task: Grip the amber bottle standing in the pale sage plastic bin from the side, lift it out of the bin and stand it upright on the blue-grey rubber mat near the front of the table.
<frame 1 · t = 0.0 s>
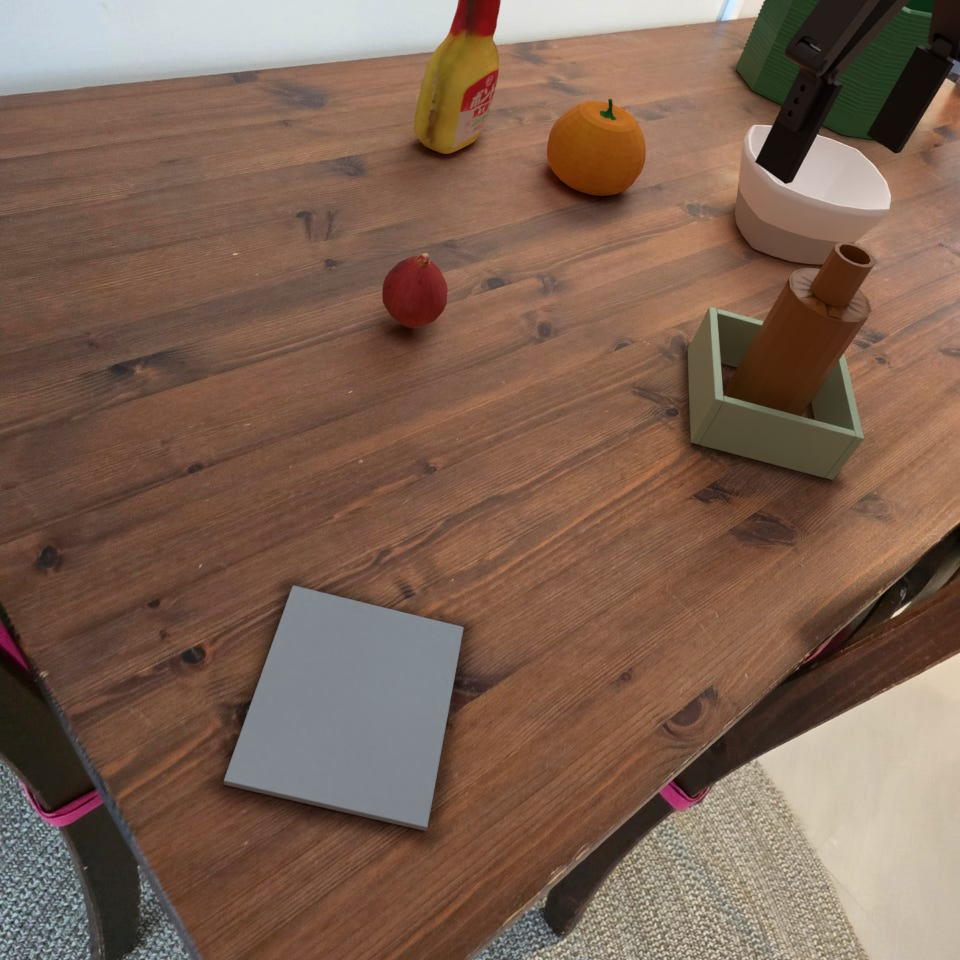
hand: (831, 157, 62), 27 cm above the table, tool pointing down, fingers open, 13 cm apart
onion: (408, 327, 82), on the table
planter: (821, 93, 144), on the table
fruit: (585, 181, 107), on the table
mat: (353, 701, 56), on the table
bottle: (450, 143, 106), on the table
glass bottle: (801, 339, 78), in the bin
bin: (756, 411, 85), on the table
bowl: (780, 236, 109), on the table
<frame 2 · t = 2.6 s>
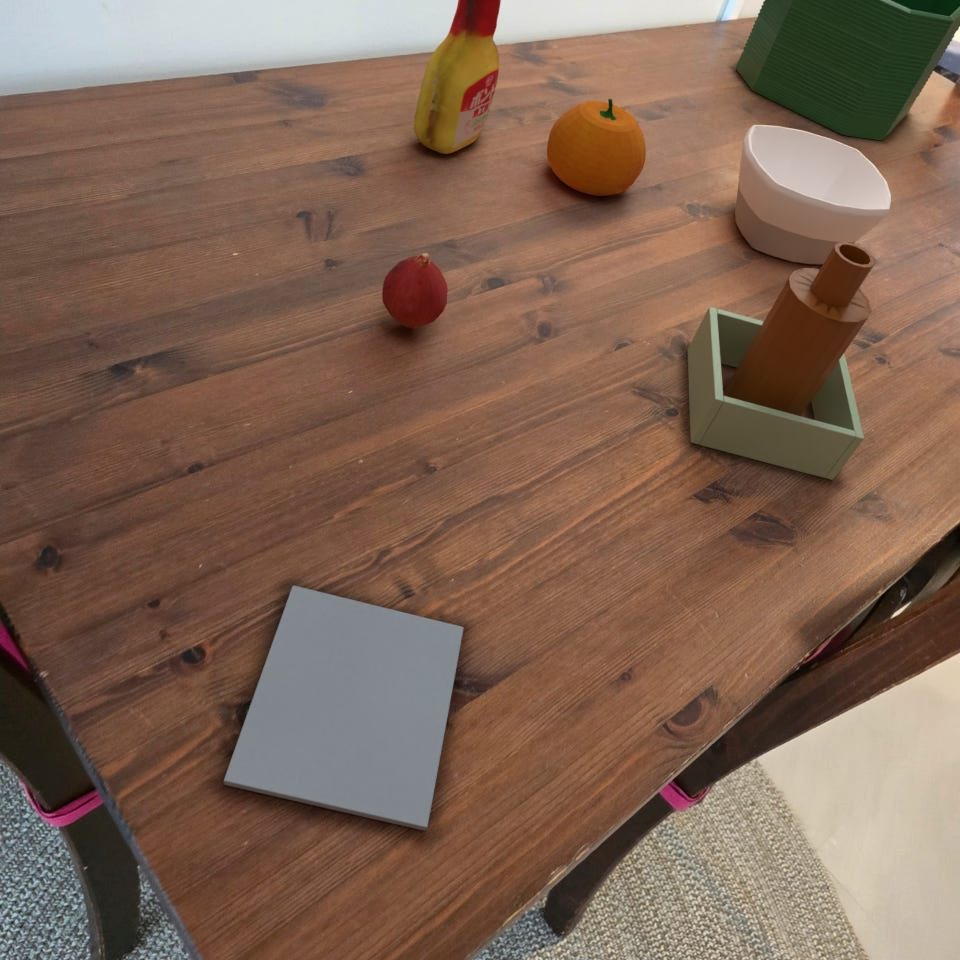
nothing on the table moved.
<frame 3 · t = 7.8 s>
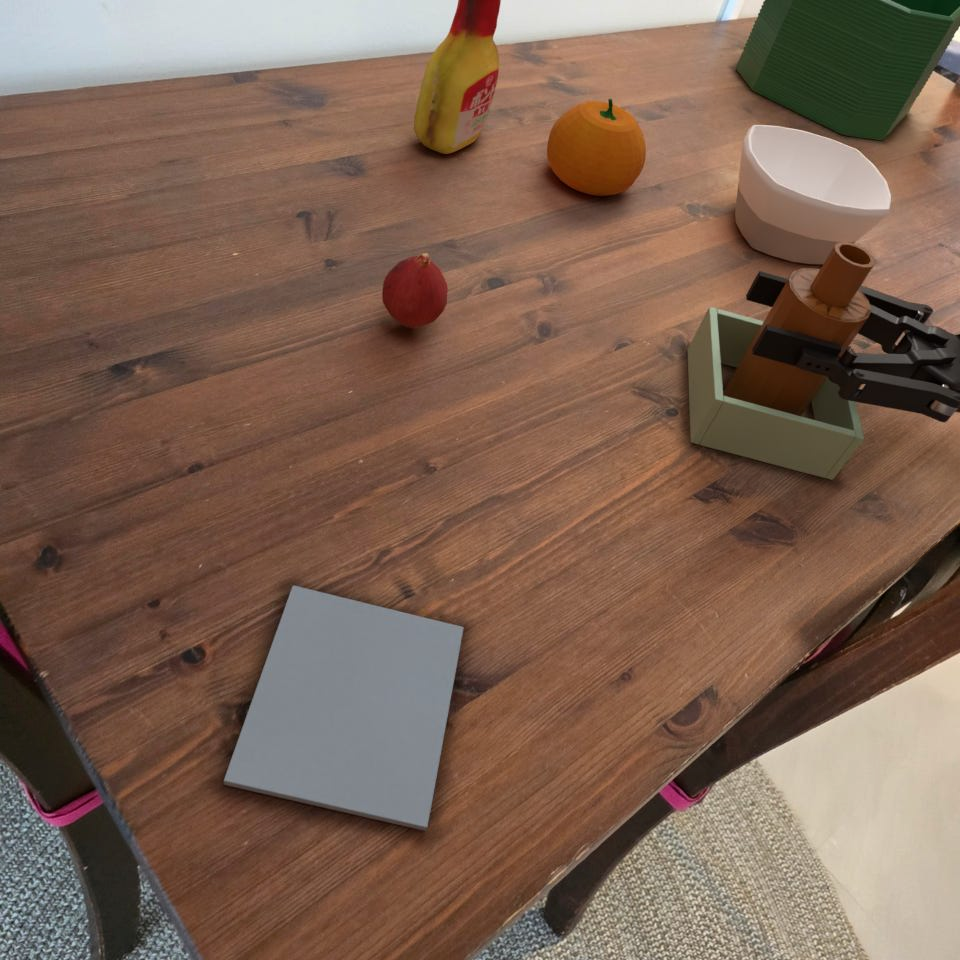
hand: (756, 311, 77), 10 cm above the table, tool horizontal, fingers closed on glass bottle, 7 cm apart
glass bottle: (801, 339, 78), in the bin, touching gripper
everything else where it was.
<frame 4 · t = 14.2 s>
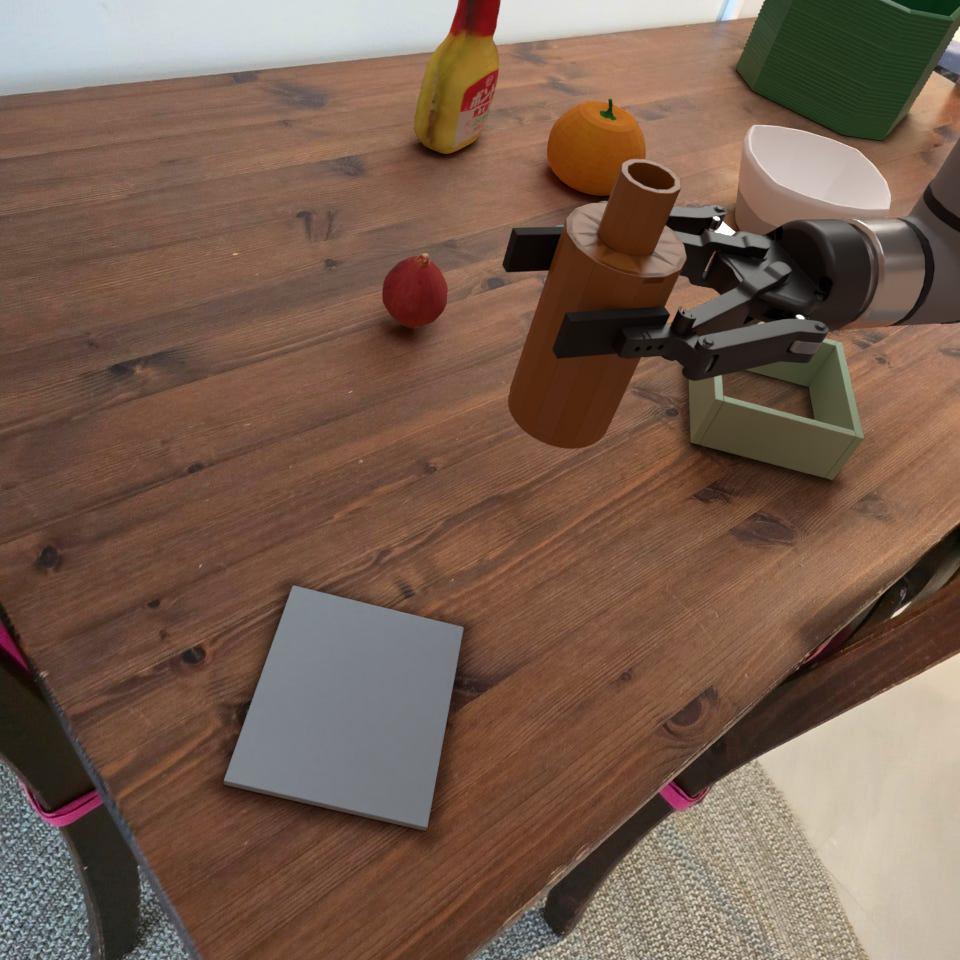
hand: (534, 291, 52), 22 cm above the table, tool horizontal, fingers closed on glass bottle, 7 cm apart
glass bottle: (599, 307, 55), point 20 cm above the table, touching gripper
everything else where it was.
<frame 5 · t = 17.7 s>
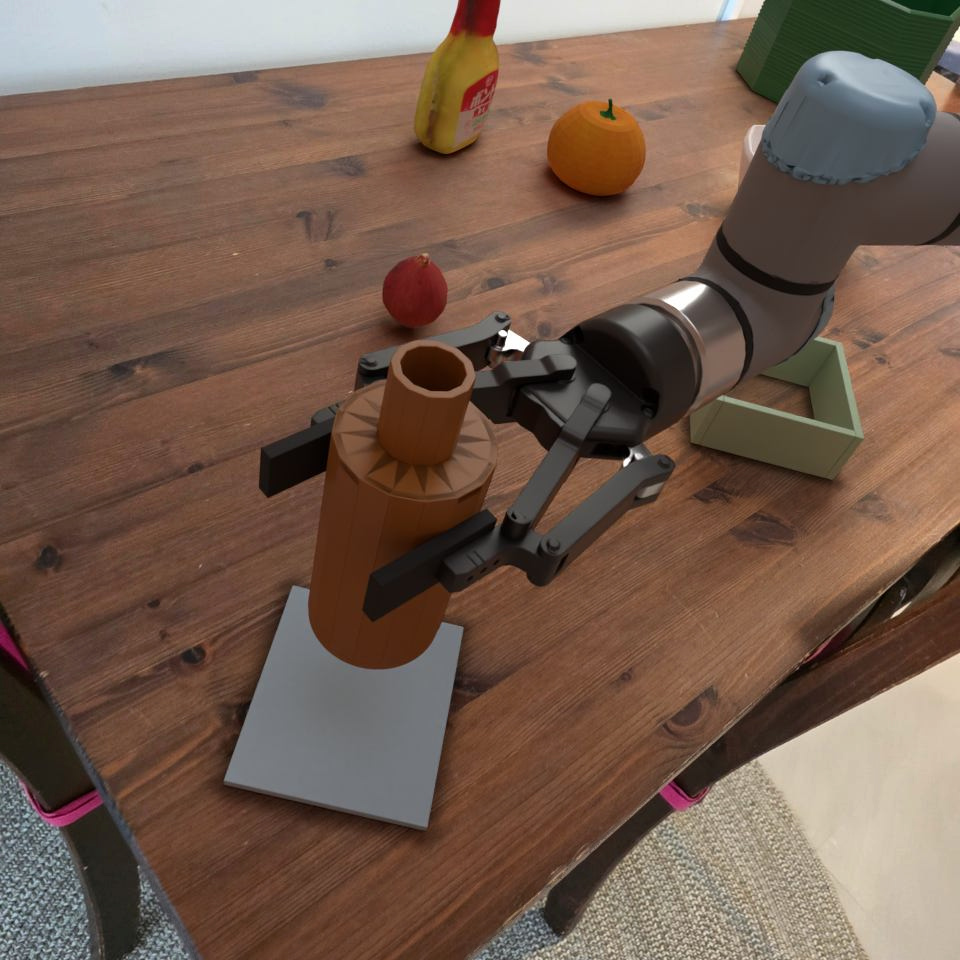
hand: (316, 533, 38), 21 cm above the table, tool horizontal, fingers closed on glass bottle, 7 cm apart
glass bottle: (399, 508, 42), point 19 cm above the table, touching gripper
everything else where it was.
when the fingers open (11 cm above the table, at t = 20.7 s): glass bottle stays where it is, resting on mat.
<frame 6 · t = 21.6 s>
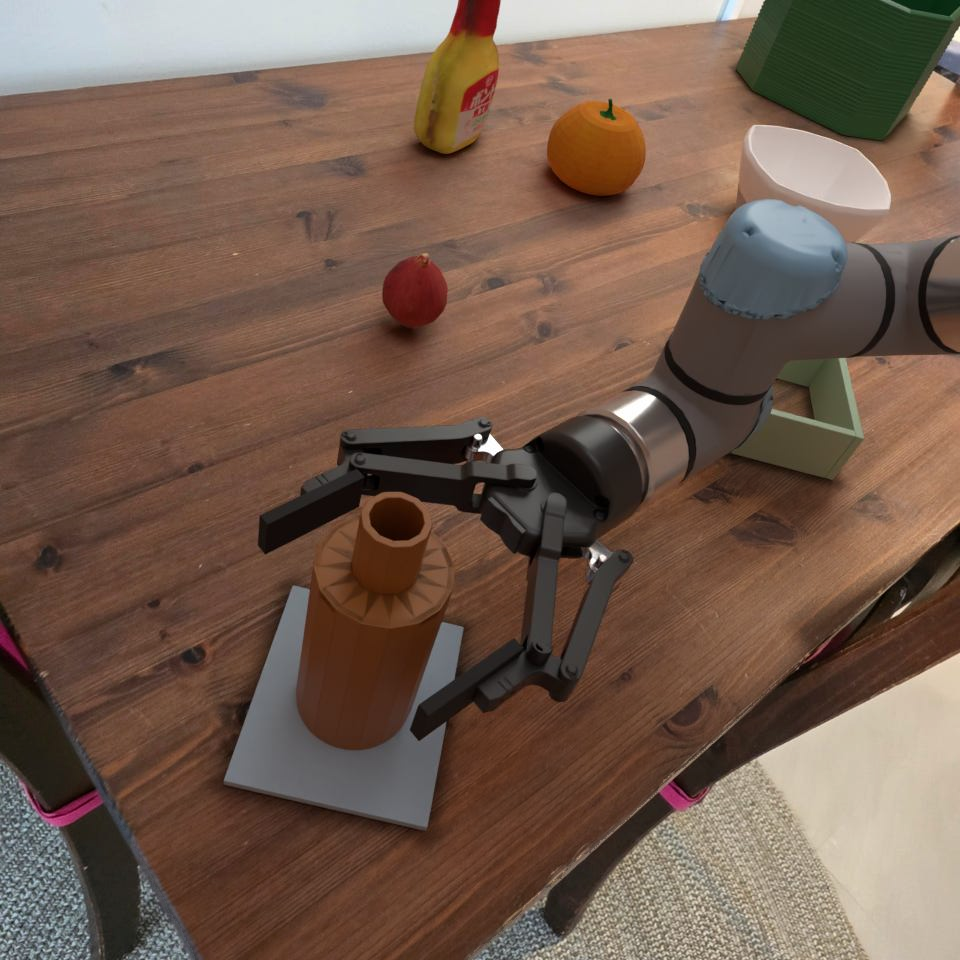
hand: (335, 624, 46), 12 cm above the table, tool horizontal, fingers open, 13 cm apart
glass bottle: (372, 619, 49), on the mat, point 10 cm above the table
everything else where it was.
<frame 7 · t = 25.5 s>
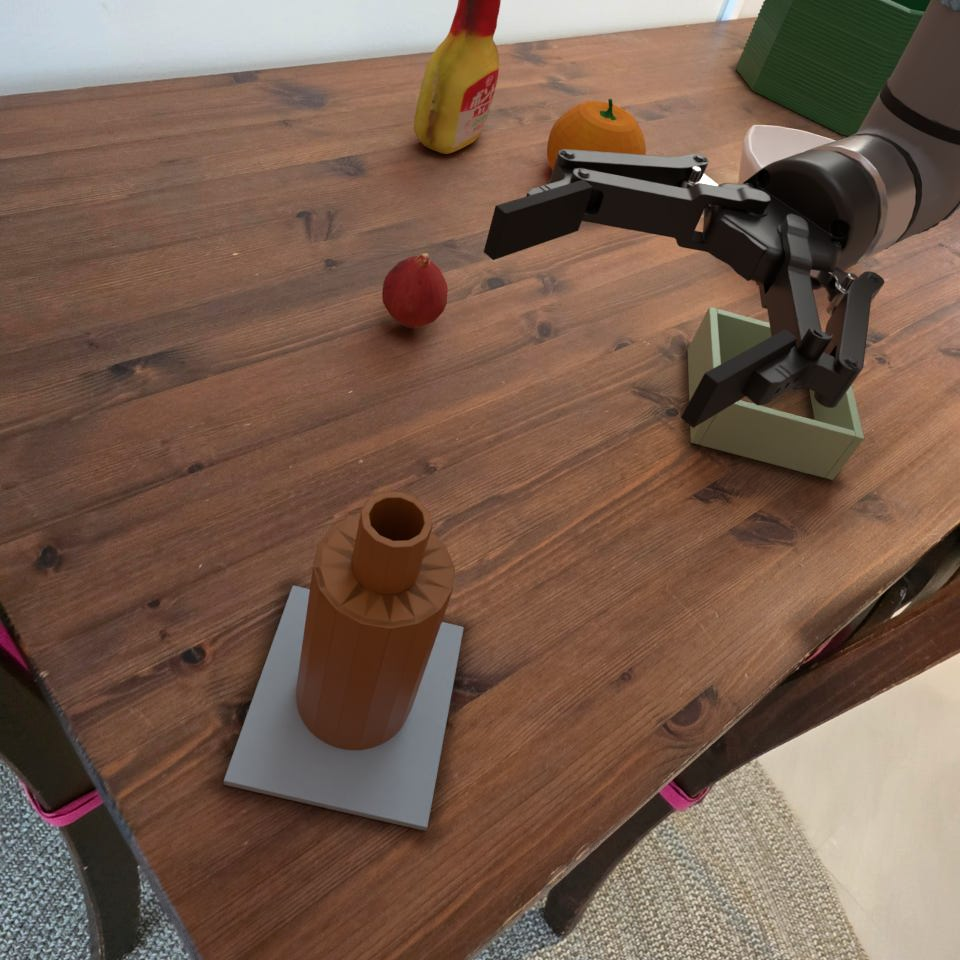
hand: (589, 312, 41), 28 cm above the table, tool horizontal, fingers open, 13 cm apart
nothing on the table moved.
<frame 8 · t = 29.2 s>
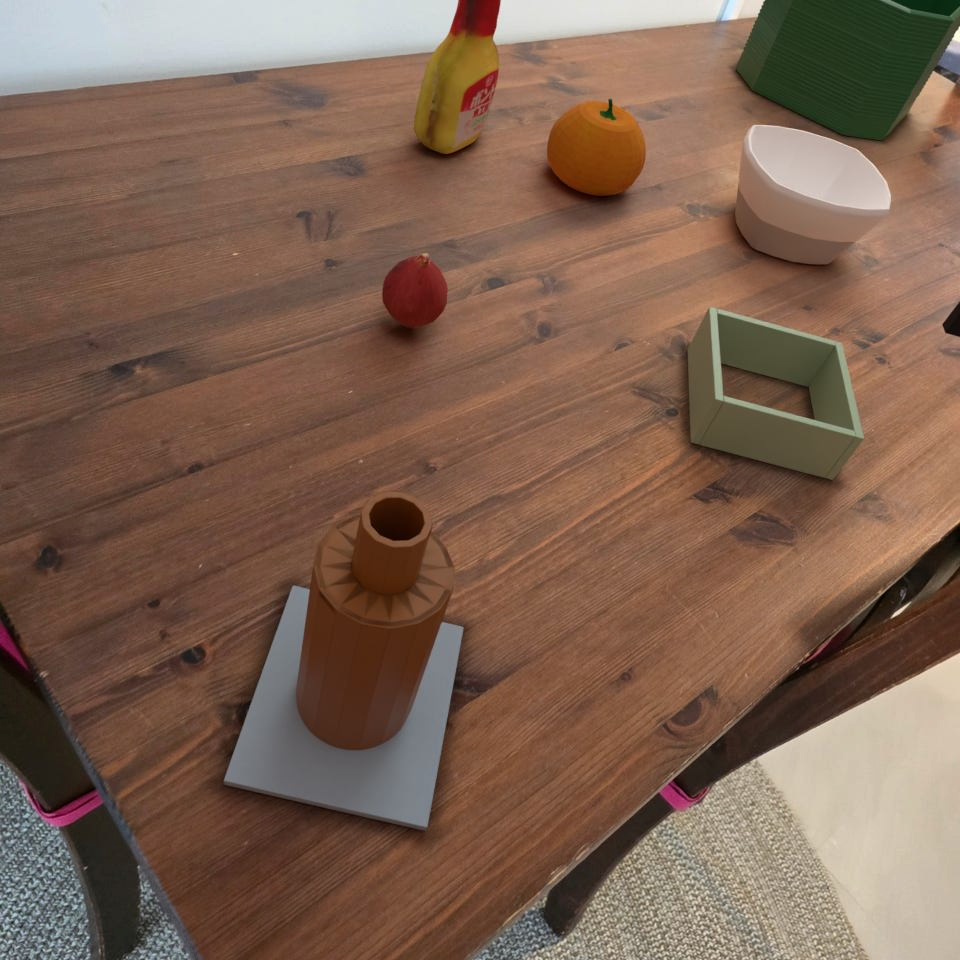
nothing on the table moved.
at the end: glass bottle inside the target area on the mat (0.0 cm from its centre), point 9.6 cm above the mat's base; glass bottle tilted 0°; the gripper is holding nothing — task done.
